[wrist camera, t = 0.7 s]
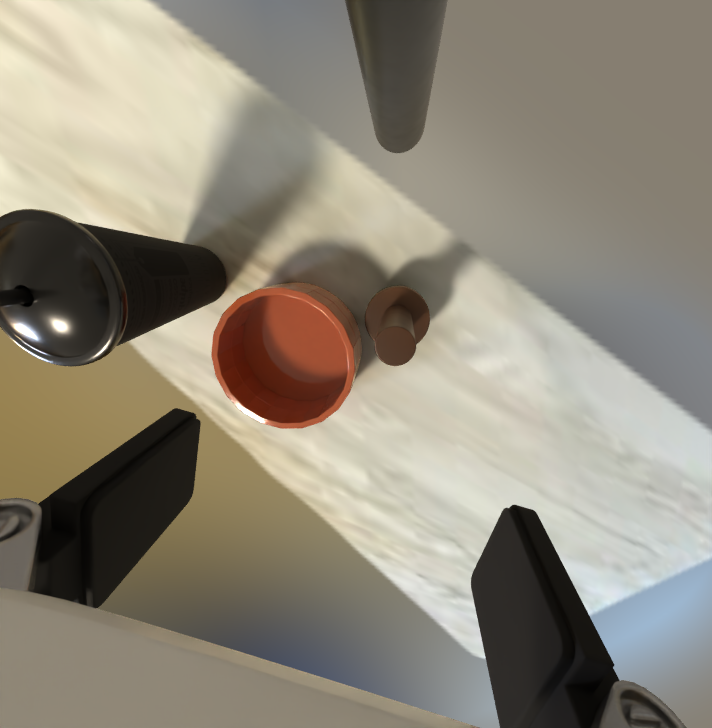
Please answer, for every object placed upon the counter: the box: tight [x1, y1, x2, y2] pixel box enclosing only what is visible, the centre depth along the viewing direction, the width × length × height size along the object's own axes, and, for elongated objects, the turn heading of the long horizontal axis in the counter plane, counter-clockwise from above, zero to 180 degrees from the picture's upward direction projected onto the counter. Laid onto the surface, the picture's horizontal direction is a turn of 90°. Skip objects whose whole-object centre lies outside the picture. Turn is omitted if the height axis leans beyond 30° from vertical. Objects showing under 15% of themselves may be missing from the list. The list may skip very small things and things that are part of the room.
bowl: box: [212, 282, 362, 428], centre depth 29 cm, size 11×11×5 cm
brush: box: [365, 285, 430, 366], centre depth 24 cm, size 5×5×11 cm
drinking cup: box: [0, 209, 226, 366], centre depth 21 cm, size 8×8×20 cm
